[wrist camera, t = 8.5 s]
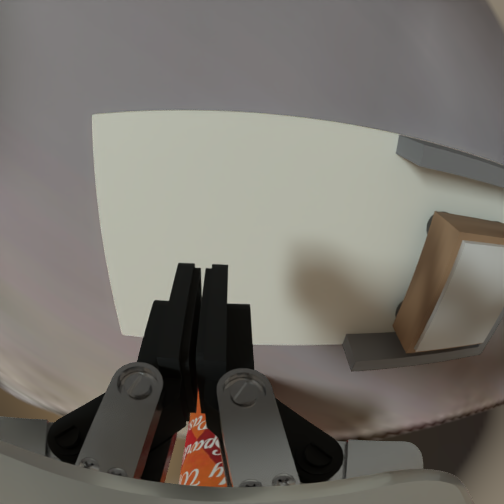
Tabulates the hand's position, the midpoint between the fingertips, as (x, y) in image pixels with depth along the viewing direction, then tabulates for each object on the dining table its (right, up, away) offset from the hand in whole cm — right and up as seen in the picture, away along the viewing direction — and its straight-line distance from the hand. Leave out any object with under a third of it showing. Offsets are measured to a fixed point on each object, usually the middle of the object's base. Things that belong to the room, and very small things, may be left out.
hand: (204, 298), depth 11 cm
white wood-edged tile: (+14, +1, +7) cm, 16 cm away
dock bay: (+7, +2, +7) cm, 10 cm away
